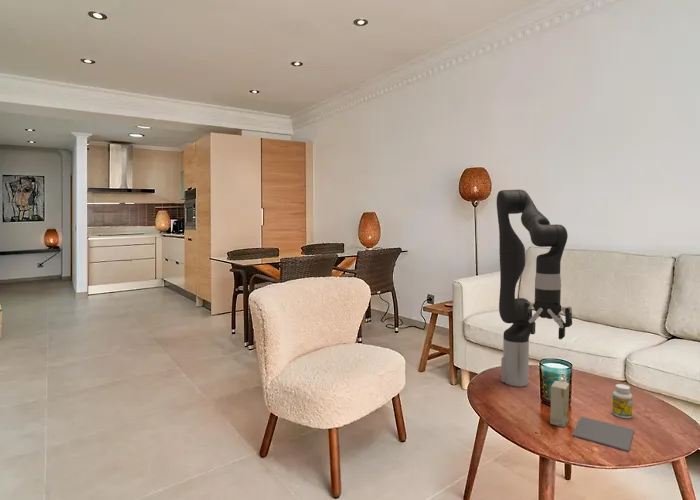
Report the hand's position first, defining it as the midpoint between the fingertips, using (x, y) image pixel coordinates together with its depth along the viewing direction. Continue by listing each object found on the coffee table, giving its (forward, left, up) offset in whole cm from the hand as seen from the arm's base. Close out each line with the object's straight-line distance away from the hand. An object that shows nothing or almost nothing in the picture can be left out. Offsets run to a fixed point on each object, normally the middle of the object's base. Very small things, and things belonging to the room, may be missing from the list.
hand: (546, 336), depth 135 cm
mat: (+17, -2, -26) cm, 31 cm away
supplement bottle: (+20, +15, -26) cm, 36 cm away
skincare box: (+5, -2, -26) cm, 27 cm away
